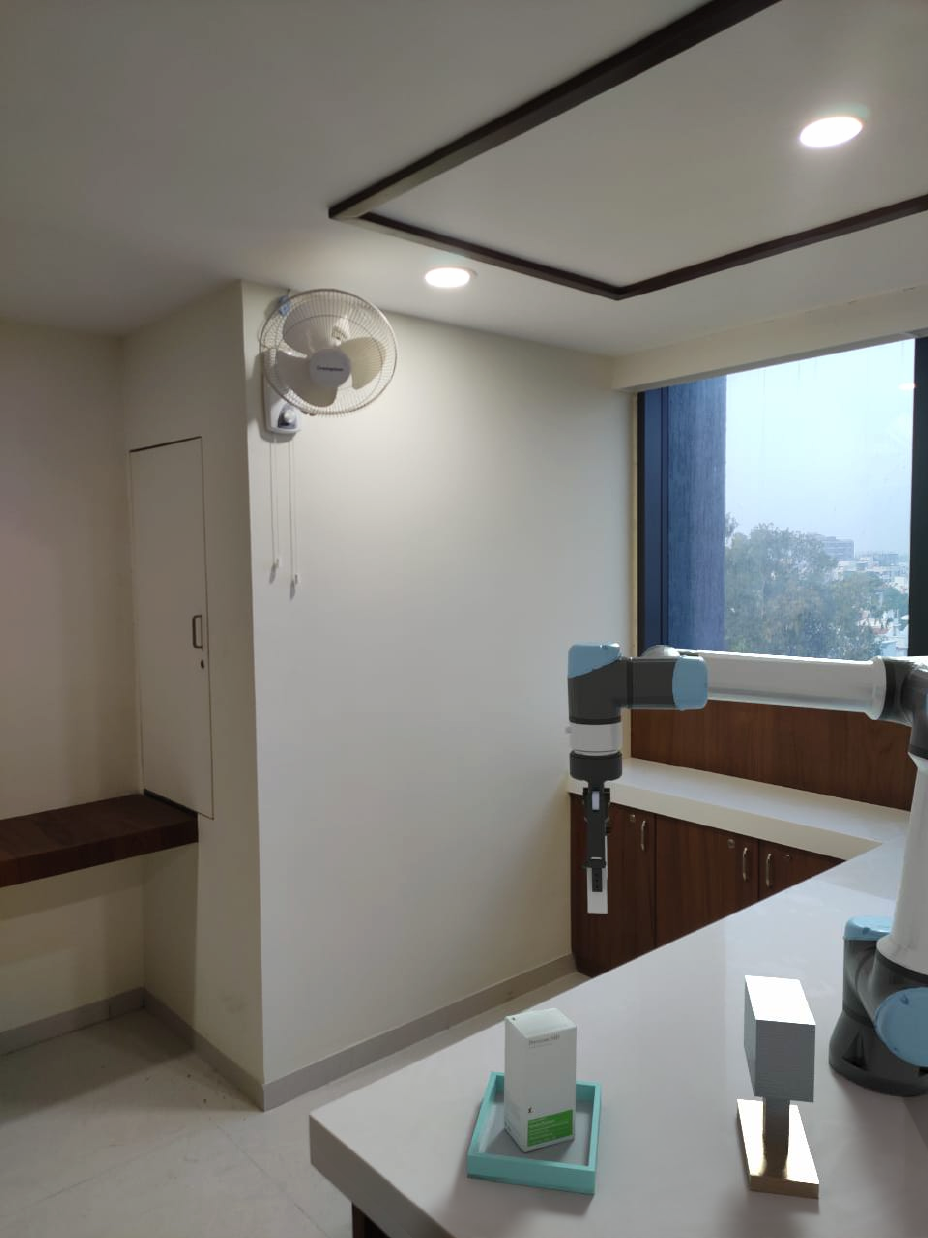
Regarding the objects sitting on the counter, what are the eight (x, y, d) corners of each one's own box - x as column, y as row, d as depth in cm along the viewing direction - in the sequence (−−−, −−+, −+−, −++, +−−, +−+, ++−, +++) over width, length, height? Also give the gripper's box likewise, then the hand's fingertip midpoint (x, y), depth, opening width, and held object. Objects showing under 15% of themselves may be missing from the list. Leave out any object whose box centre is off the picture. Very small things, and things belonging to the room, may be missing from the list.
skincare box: (522, 1155, 117) (523, 1039, 116) (500, 1125, 124) (501, 1016, 123) (578, 1138, 121) (579, 1026, 120) (554, 1111, 127) (555, 1004, 126)
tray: (601, 1103, 129) (601, 1083, 129) (594, 1195, 111) (594, 1171, 111) (491, 1091, 133) (491, 1071, 132) (467, 1178, 114) (467, 1155, 114)
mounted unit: (796, 1119, 126) (799, 973, 124) (818, 1199, 110) (822, 1033, 109) (737, 1113, 127) (739, 968, 126) (750, 1190, 112) (753, 1027, 110)
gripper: (572, 733, 142) (575, 865, 144) (565, 769, 118) (568, 928, 119) (620, 733, 141) (623, 866, 142) (623, 770, 116) (626, 930, 118)
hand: (598, 894), depth 131 cm, fingers open, 13 cm apart
